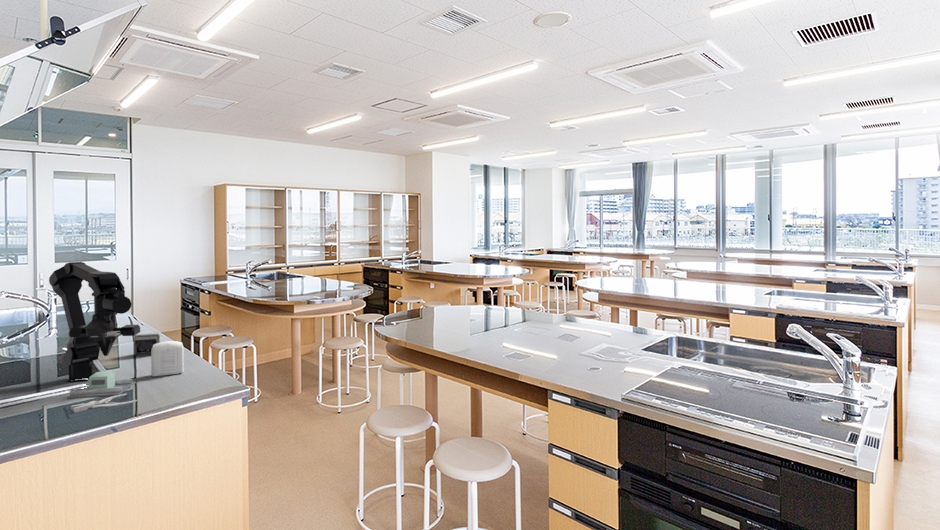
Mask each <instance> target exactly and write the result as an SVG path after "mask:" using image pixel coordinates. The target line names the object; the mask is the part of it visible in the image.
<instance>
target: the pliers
mask: <svg viewBox="0 0 940 530" xmlns="http://www.w3.org/2000/svg"><path fill="white" fill-rule="evenodd" d="M127 395H128V393H126V392H125V393H121V394H120V395H116V396H107V397H106V398H104V399H100V400H91V401H89V402H87V403H80V404H79V403H78V404H75V405H71V407H70V409H71V411H73V413H78V412H83V411H86V410H88V409H95V408H96V409H97V408H108V407H109V408H110V407H117V406H123V405H124V406H125V405H129V404H132V403H136V402H138V400H137V399H134V400H129V401H123V402H110V401H112V400H113V399H116V398H119V397H124V396H127Z"/></svg>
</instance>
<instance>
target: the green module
mask: <svg viewBox="0 0 940 530" xmlns="http://www.w3.org/2000/svg"><path fill="white" fill-rule="evenodd" d="M115 380H116V373H115V370H111V371H109V370H107V371H95V374H93V375H92V376H90V377H89V380H88V381H89V389H91V388H108V387H114V386H115Z"/></svg>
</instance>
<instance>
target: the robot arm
mask: <svg viewBox="0 0 940 530" xmlns="http://www.w3.org/2000/svg"><path fill="white" fill-rule="evenodd" d="M84 281H85V282H87V286H88V288H90V289H91V290H92V293H91V297H93V303H94V304H93V306H94V309H93V312H94V313H93V314H92V316H91V317H92V319H91V321H89V323H87V322H86V319H85V316H84V315H85V314H84V311H83V308H82V307H83V306H82V304H81V299H80V296H79V293H80V292H81V289H82V287H83V284H82V282H84ZM48 283H49V285H50V286H51V288H52V291H53V292H54V293H55V294H56V295H57V296H58V297H60V298H61V302H62V306H63V310H64V314H65V318H66V322H67V327H68V338H69V339H68V341H67V344H66V351H65V353H64V355H63V356H62V362H63V364H64V365H68V370H67V371H68V379H66V382H67V381H69V382H72V381H71V380H75V379H82V378H89V377H90V376H92V375H93V374H95V373H96V364H95V363H94V361H98V360H99V355H100V350H101V353H102V355H103V356H104V357H108V355H110V352H111V349H112V347H113V345H114V343H115V341H116V340H117V338H118V337H120V336H122V337H133V336H134V335H136V334H141V327H140V325H139V324H125V325H123V326H121V327H118V322H117V315H119V314H120V315H122V314H125V313H127V312H129V311H130V310H131V307H132V303H133V302H132V301H131V299H130V298H129V297H128V296H126V295H125V293H126V291H125V286H124V285H123V282H121V278H120V277H119V275H118V274H117V273H116V272H113V271H101V270H98V269H96V268H94V267H92V266H90V265H88V264H86V263H85V262H82V261H69V262H66V263H65V264H64V265H63V266H61V267H60V268H58V269H55V270H54V271H53V272H52V274H51V275H50V276H49V278H48Z"/></svg>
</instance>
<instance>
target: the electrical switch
mask: <svg viewBox="0 0 940 530" xmlns="http://www.w3.org/2000/svg"><path fill="white" fill-rule="evenodd" d="M132 337H133V348H134V355H135V357H145V356H146V357H147V356H151V349H152V347H153V345H154V344H157V343H160V342H161V334H160V333H159V332H154V333H138V334H136V335H134V336H132Z"/></svg>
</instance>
